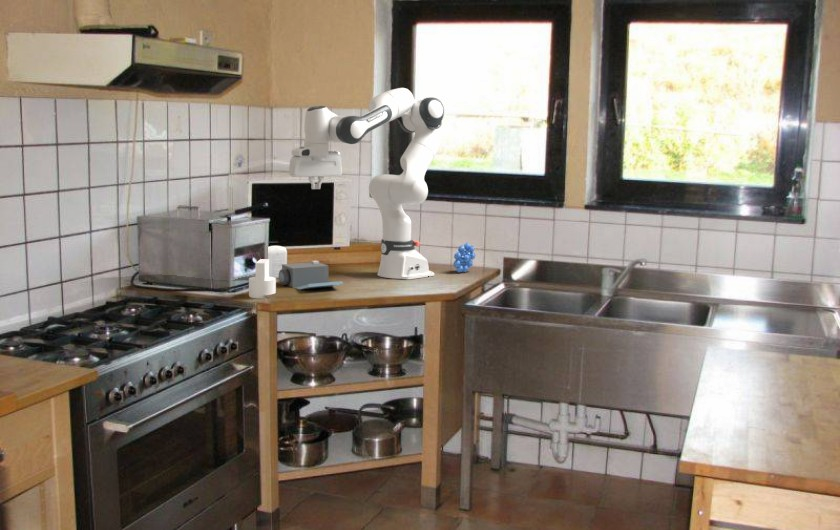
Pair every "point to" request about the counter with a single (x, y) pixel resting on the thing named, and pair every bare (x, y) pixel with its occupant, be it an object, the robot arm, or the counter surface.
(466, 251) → the grapes
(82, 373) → the counter surface
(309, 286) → the side door
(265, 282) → the base with upright slab
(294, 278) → the camera body
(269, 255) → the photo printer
